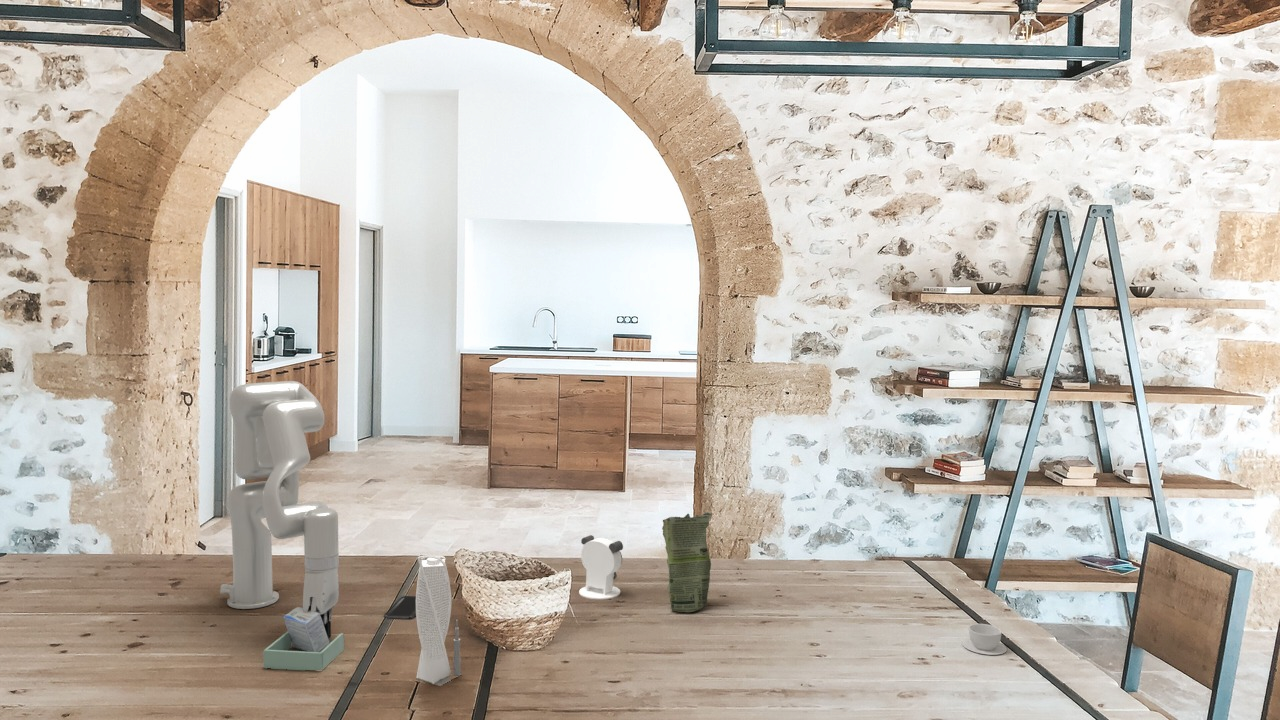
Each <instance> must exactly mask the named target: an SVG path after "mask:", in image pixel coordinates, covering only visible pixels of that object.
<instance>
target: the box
mask: <svg viewBox="0 0 1280 720" xmlns="http://www.w3.org/2000/svg"><path fill="white" fill-rule="evenodd" d="M344 637H345V634H344V632H343V633H342V632H341V633H339V634H338V635H337V636H336V637H335V638H334V639H333V640H332V641H330V642H329V644H328V645H327V646H325V647H324V648H323V649H322V650H321V651H319V652H308V651H304V650H302V651H301V650H300V651H299V650H290V649H291V648H292V642H291V639H290V636H289V633H288V630H287V631H286V632H285V633H283V634H282V635H281V636H280V637H279V638H277V639H276V640H275V641H273V642H272V643H271V644H270V645H268V646H267V647H266V648H265V649H264V650H262V651H263V652H262V654H263V655H262V656H263V659H262V660H263V669H267V668H271V670H273V669H274V670H286V669H287V670H289V671H305V670H323V669H324V668H325V667H326V666H327V665H328V664H329V663H330V662H331V661H332V662H333V661H334V660H335V659H336V658H337V657H338V656H339V655H340V654H342V652H344V650H345V641H344V640H345V638H344ZM334 658H335V659H334ZM332 662H331V663H332ZM331 663H330V664H331ZM330 664H329V665H330ZM329 665H328V666H329ZM328 666H327V667H328ZM327 667H326V668H327ZM326 668H325V669H326ZM325 669H324V670H325ZM287 670H286V671H287ZM324 670H323V671H324Z"/></svg>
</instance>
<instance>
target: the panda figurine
mask: <svg viewBox="0 0 1280 720" xmlns="http://www.w3.org/2000/svg"><path fill="white" fill-rule="evenodd" d="M580 542H581V544H582V545H583V547H582V549H581V553H580V558H581V563H582V566H583V567H584V569H585V574H586V575H585V576H586V577H585V586H583V587H581V588H580V589H579V591H578V594H579V595H580V596H581V597H583V598H585V599H589V600H590V599H591V600H609V599H613V598H616V597H618V596H620V594H621V589H620V588H618V587H617V586H615V585H614V581H615V580H616V579H617V576H618V574H617V571H619V569H620V568H621V565H622V564H623V555H622V552H621V551H622V550H623V549H624V544H623V543H622V541H620V540H617V541H612V540H610V539H607V538H604V537H603V538H602V537H597V538H595V536H594V535H591V534H590V535H587V536H585V537H583V538H581V541H580Z"/></svg>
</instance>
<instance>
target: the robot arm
mask: <svg viewBox="0 0 1280 720" xmlns="http://www.w3.org/2000/svg"><path fill="white" fill-rule="evenodd" d="M228 403H229V404H228V405H229V410H230V415H231V417H232V420H233V424H234V471H235V474H236V476H237V477H238V478H239V479H241V480H259V479H266V478H267V480H264V481H256V482H247V483H242V484H239V485H237V486H235V487H233V488H232V489H231V490H230V491H229V492H228V495H227V501H226V502H227V504H226V505H227V510H228V513H229V518H230V526H231V536H232V537H231V541H232V543H231V544H232V577H233V579H232V581H233V582H232V584H228V583H222V584H221V585H220V590H219V593H220V594H221V595H227V594H228V595H229V597H228V598H227V601H226V602H227V605H228V606H229V607H230V608H232V609H238V610H240V609H241V610H251V609H252V610H253V609H261V608H263V607H268V606H271V605H273V604H275V603H276V602H278V600H279V599H280V594H279V592H277V591H275V590H273V589H274V588H273V552H272V550H273V548H272V545H273V544H272V543H273V542H272V536H273V537H274V539H275V538H276V539H278V540H285V539H290V538H291V539H292V538H296V537H297V538H298V537H302V536H303V541H304V542H303V544H304V545H303V546H304V547H303V549H304V550H303V551H304V571H305V574H304V579H303V590H302V591H303V592H302V595H303V596H302V608H303V612H308V610H311V612H312V611H314V612H318V613H320V616H321V619H322V622H323V625H324V628H325V631H326V634H327V637H328V639H329V640H330V638H331V637H332V622H331V620H332V615H333V613H332V612H333V608H334V607H335V605H336V604H337V603H338V602H339V593H340V591H339V590H340V589H339V588H340V587H339V573H338V569H339V567H340V565H339V564H340V562H339V560H340V559H339V554H340V553H339V514H338V512H337V511H336V510H335V509H333V508H330V507H328V505H327V504H326V503H324V502H323V501H310V502H301V503H298V501H299V481H300V470H301V469H303V468H304V467H305V466H307V465H308V464H309V463H310V462H311V454H310V452H309V447H308V446H309V445H308V443H307V439H306V435H305V433H306V434H307V433H314V432H315V433H316V432H319V431H320V430H322V428H323V427H324V425H325V412H324V410H323V407H322V404H321V403H320V401H319V400H318V399H317V397H316V396H315V395H314V394H313V393H312V392H311V391H310V390H309V389H307V387H306V386H305V385H303V383H301V382H299V381H297V380H295V381H294V380H283V381H268V382H267V381H265V382H254V383H253V382H251V383H244V384H240V385H237V386H236V387H234V388H233V389H232V391H231V393H230V396H229V402H228ZM263 519H265V521H266V524H267V526H266V525H265V524H264V523H263V521H262V520H263Z"/></svg>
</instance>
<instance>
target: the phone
mask: <svg viewBox="0 0 1280 720" xmlns="http://www.w3.org/2000/svg"><path fill="white" fill-rule="evenodd" d="M383 617H384V619H386V618H390V620H410V621H411V620H414V619H415V618H416V595H402V596H401V597H400V598H399V599H398V600H397V601H396V602H395V603H394V604H393V605H392V606H391V607H390V608H389V609H388V610H387V611H386V612H385V613H384V616H383Z"/></svg>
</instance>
